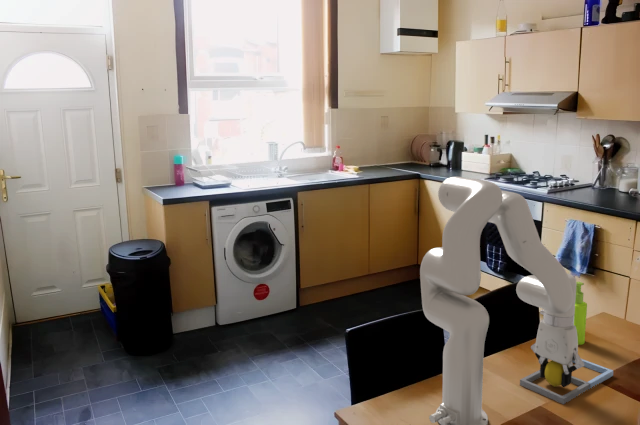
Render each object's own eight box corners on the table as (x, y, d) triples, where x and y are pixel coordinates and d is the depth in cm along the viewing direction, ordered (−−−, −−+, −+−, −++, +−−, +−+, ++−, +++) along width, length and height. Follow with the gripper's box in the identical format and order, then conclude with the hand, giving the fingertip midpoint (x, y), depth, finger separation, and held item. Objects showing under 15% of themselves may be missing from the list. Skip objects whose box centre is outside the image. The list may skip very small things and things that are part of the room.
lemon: (567, 392, 150) (569, 365, 148) (545, 391, 151) (547, 363, 149) (563, 382, 155) (564, 356, 154) (542, 381, 156) (543, 354, 155)
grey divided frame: (563, 404, 144) (563, 398, 144) (519, 384, 154) (520, 379, 154) (612, 375, 158) (613, 370, 158) (569, 359, 169) (570, 354, 168)
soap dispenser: (558, 340, 182) (561, 281, 179) (573, 336, 185) (577, 278, 181) (573, 346, 177) (577, 287, 173) (588, 342, 180) (592, 283, 176)
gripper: (522, 312, 154) (519, 373, 157) (581, 332, 140) (577, 398, 144) (538, 306, 158) (535, 365, 162) (597, 325, 144) (592, 389, 148)
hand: (555, 380), depth 153 cm, fingers closed on lemon, 5 cm apart
